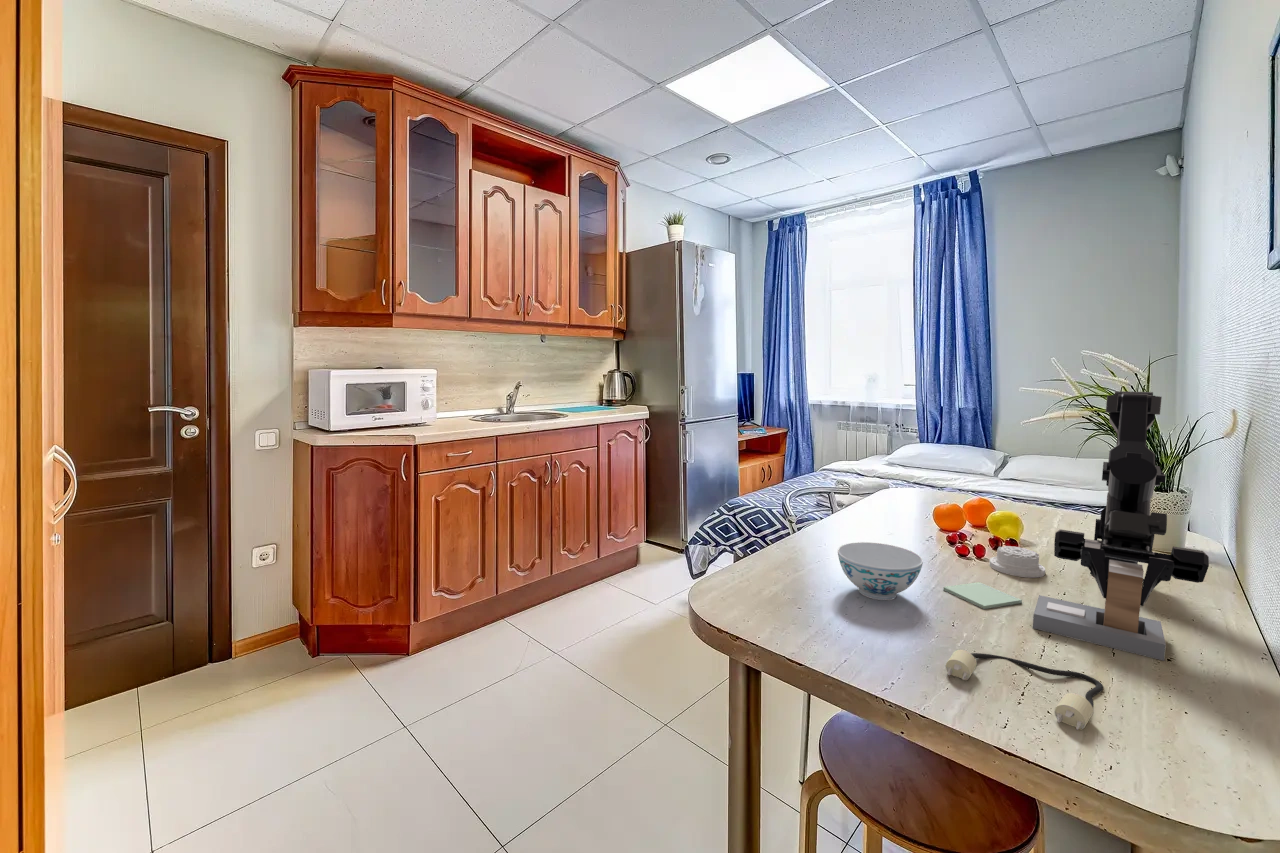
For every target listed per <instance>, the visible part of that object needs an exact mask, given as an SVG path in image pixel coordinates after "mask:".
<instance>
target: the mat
mask: <svg viewBox="0 0 1280 853" xmlns="http://www.w3.org/2000/svg"><path fill="white" fill-rule="evenodd" d="M942 590H943V591H945V592H947V593H949V594H952V596H956V597H957V598H960V599H961V600H964V601H965V602H968V603H970V604H973V605H974V606H977V607H979V608H980V609H984V610H987V609H992V608H993V609H994V608H1000V607H1005V606H1011V605H1019V604H1022V603H1023V599H1021V598H1019V597H1015V596H1013V595H1011V594H1010V593H1006V592H1004V591H1002V590H999V589H997V588H994V587H992V586H990V585H988V584H985V583H982V582H980V581H978V582H970V583H962V584H957V585H956V584H955V585H949V586H943V589H942Z"/></svg>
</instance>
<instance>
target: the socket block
mask: <svg viewBox="0 0 1280 853" xmlns="http://www.w3.org/2000/svg"><path fill="white" fill-rule="evenodd" d="M1104 612H1105V608H1101V607H1096V606H1091V605H1087V604H1082V603H1079V602H1073V601H1069V600H1063V599H1059V598H1055V597H1050V596H1045V595H1041V594H1039V595H1038V597H1037V601H1036V604H1035V607H1034V612H1033V616H1032V629H1034V630H1040V631H1043V632H1047V633H1050V634H1051V633H1052V634H1055V635H1059V636H1063V637H1068V638H1072V639H1075V640H1079V641H1082V642H1083V641H1084V642H1088V643H1090V644H1094V645H1099V646H1102V647H1108V648H1111V649H1116V650H1120V651H1124V652H1127V653H1132V654H1135V653H1136V654H1135V655H1140V656H1144V657H1147V658H1151V659H1154V660H1155V659H1156V660H1159V661H1163V662H1165V658H1166V657H1165V656H1166V647H1167V644H1166V639H1165V635H1164V630H1163V625H1162V621H1161V620H1156V619H1152V618H1148V617H1143V616H1139V623H1138V633H1133V632H1129V631H1125V630H1120V629H1116V628H1112V627H1107V626H1103V623H1104Z"/></svg>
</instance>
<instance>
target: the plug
mask: <svg viewBox="0 0 1280 853" xmlns="http://www.w3.org/2000/svg"><path fill="white" fill-rule="evenodd" d="M1143 566H1144V565H1143V564H1139V563H1138V564H1134V563H1128V562H1122V561H1116V560H1110V559H1109V569H1108V579H1107V597H1106V598H1105V600H1104V602H1105V604H1104V609H1105V612H1104V623H1103V626H1107V627H1112V628H1116V629H1120V630H1125V631H1129V632H1133V633H1138V623H1139V617H1140V612H1141V606H1140V603H1141V593H1142V586H1143V579H1144V572H1145V571H1144V567H1143Z"/></svg>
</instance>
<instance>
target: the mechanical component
mask: <svg viewBox="0 0 1280 853" xmlns="http://www.w3.org/2000/svg"><path fill="white" fill-rule="evenodd" d="M988 563H989V565H988V566H989V567H990V568H992V570H996V571H998V572H1000V573H1003V574H1007V575H1010V576H1016V577H1022V578H1033V579H1035V578H1042V577H1044V576H1045V574H1046V568H1045V566H1043V565H1042V564H1040V555H1039V553H1038V552H1036V551H1034V550H1031V549H1027V548H1023V547H1020V546H1011V545H1004V546H998V548H997V549H996V556H993V557H990V558H989V562H988Z"/></svg>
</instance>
